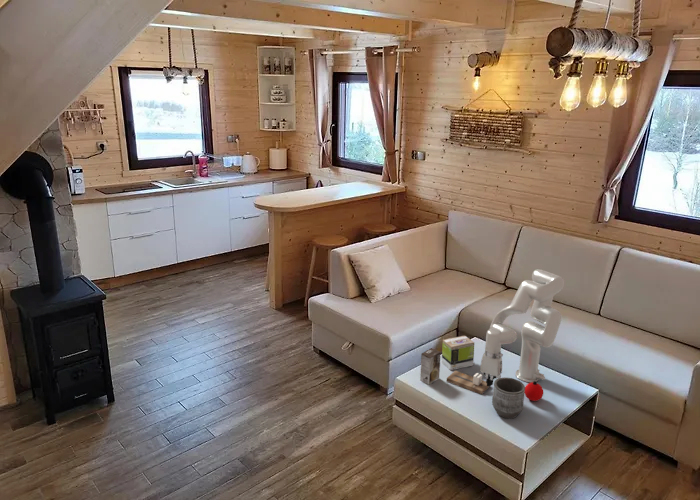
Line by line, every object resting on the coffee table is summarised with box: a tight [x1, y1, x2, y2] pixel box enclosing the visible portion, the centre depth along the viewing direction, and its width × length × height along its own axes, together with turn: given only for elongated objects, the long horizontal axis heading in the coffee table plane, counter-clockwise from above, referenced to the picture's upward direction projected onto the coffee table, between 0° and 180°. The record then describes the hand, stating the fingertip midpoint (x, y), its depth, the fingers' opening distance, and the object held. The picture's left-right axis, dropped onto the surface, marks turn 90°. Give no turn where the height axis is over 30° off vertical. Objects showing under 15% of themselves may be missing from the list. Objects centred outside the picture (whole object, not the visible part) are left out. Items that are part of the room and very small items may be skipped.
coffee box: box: [419, 347, 442, 385], centre depth 276 cm, size 9×6×16 cm
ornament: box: [524, 381, 544, 402], centre depth 260 cm, size 9×9×10 cm
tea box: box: [441, 335, 475, 371], centre depth 292 cm, size 15×10×15 cm
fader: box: [472, 372, 483, 385], centre depth 270 cm, size 3×4×5 cm
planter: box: [491, 377, 526, 419], centre depth 248 cm, size 14×14×15 cm
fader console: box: [446, 369, 490, 395], centre depth 274 cm, size 20×10×2 cm, turn 52°
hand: (489, 385), depth 267 cm, fingers closed
